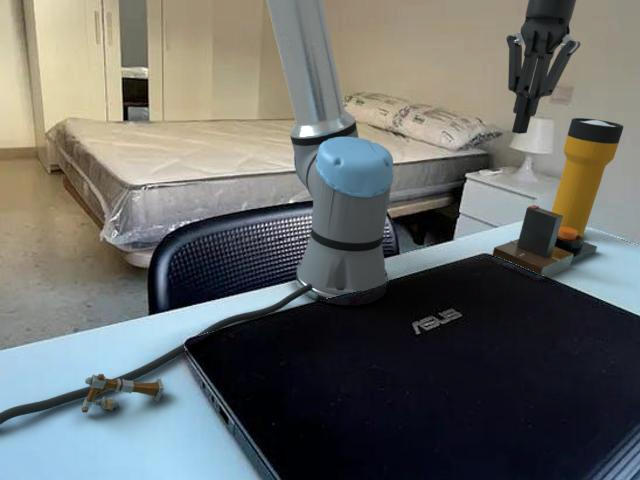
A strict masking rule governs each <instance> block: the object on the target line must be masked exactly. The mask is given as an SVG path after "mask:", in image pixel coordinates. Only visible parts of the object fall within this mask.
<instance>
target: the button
mask: <svg viewBox="0 0 640 480" xmlns="http://www.w3.org/2000/svg"><path fill="white" fill-rule="evenodd" d="M577 234H578V231H577V230H575V229H573V228H569V227H560V229H559V232H558V235H557V236H559V237H561V238H564V239H568V240H576V237H577Z"/></svg>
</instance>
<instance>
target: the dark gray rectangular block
mask: <svg viewBox="0 0 640 480" xmlns="http://www.w3.org/2000/svg"><path fill="white" fill-rule="evenodd" d="M523 218H524V219H523V222H522V224H521V225H522V226H521V229H520V234H519V237H518V239H519V240H518V244H517V246H519V247H521V248H524V249H526V250H529V251H531V252H533V253H536V254H538V255H541V256H543V257H548V256H550V255H552V252H553V249H554V246H555V242H556V239H557V235H558V232H559V229H560V225H561V222H562V218H563V216H562V215H559V214H556V213H553V212H552V211H550V210H547V209H544V208H541V207H540V206H538V205H535V204H533V205H529V206H527V207H526V210H525V214H524V217H523Z"/></svg>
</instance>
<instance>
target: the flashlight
mask: <svg viewBox="0 0 640 480" xmlns="http://www.w3.org/2000/svg"><path fill="white" fill-rule="evenodd" d="M623 130H624V125H623V124H620V123H617V122H612V121H608V120H601V119H594V118H584V117H573V118H572V119H571V122H570V125H569V128H568V132H567V135H566V139H565V142H564V146H563V154H564V155H565V158H566V159H565V162H564V167H563V170H562V173H561V177H560V181H559V184H558V187H557V191H556V195H555V198H554V202H553V206H552V209H551V212H553V213H556V214H559V215H562V216H563V218H562V222H561V225H560V227H569V228H573V229H575V230H577V231H578V235H579V236H581V237H582V238H584V235H585V231H586V228H587V226H588V222H589V218H590V216H591V213H592V209H593V206H594V203H595V200H596V197H597V194H598V191H599V188H600V185H601V182H602V178H603V175H604V171H605V169H606V167H607V165H609V164H610V163H611V162H612V161H613V160H614V158H615V156H616V152H617V149H618V146H619V143H620V140H621V137H622V134H623Z"/></svg>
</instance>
